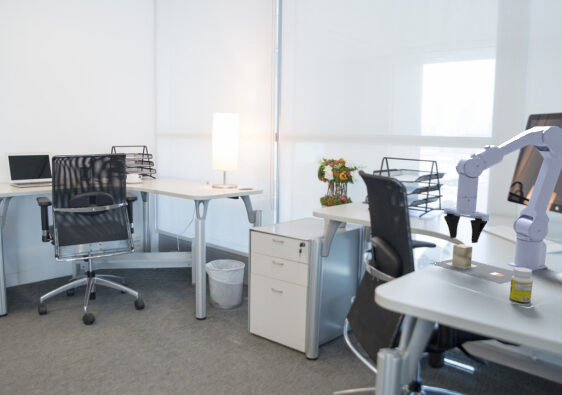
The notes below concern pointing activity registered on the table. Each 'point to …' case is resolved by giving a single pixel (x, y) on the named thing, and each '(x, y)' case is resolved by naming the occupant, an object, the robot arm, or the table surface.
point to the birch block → (462, 255)
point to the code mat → (480, 271)
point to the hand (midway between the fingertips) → (463, 240)
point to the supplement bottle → (521, 286)
